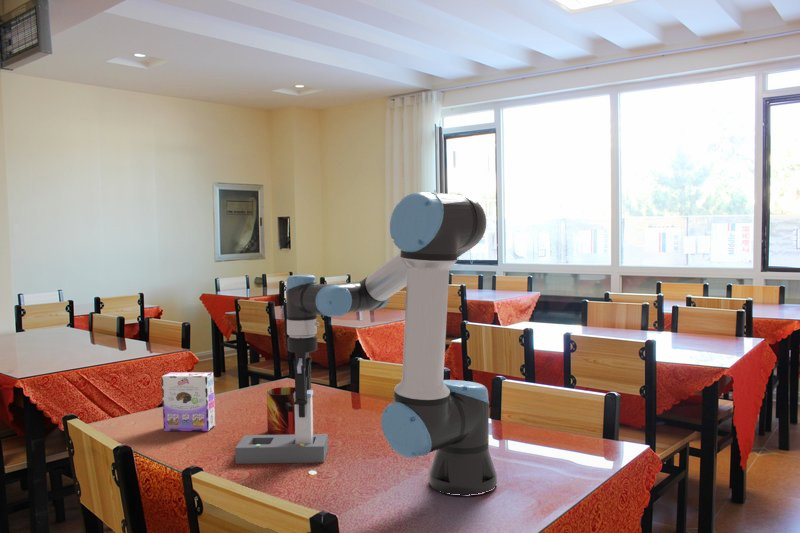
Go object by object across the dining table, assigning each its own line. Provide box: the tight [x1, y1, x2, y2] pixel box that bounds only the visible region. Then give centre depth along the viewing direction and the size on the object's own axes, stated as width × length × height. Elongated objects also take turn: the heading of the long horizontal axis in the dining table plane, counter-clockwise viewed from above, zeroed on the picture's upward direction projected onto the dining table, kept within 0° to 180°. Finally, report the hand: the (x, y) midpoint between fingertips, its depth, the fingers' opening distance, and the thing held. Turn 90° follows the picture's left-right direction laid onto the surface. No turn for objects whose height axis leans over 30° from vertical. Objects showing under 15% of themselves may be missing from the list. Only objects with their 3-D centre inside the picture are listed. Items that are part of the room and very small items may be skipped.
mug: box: [266, 386, 295, 435], centre depth 182 cm, size 10×14×12 cm
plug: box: [293, 389, 314, 444], centre depth 163 cm, size 4×4×14 cm
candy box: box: [161, 371, 216, 432], centre depth 188 cm, size 14×6×16 cm, turn 84°
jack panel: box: [234, 433, 329, 464], centre depth 163 cm, size 10×22×4 cm, turn 90°
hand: (304, 426), depth 163 cm, fingers closed on plug, 4 cm apart
